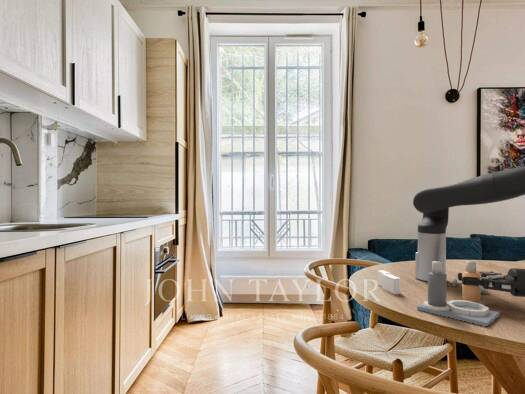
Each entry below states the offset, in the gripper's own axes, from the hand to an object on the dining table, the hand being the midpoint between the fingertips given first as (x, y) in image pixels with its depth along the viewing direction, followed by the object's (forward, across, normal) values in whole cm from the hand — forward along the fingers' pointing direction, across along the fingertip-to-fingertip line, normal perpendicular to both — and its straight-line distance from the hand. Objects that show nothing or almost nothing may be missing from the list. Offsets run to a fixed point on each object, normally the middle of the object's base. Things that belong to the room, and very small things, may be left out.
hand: (460, 278), depth 96 cm
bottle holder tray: (+3, +10, +7) cm, 12 cm away
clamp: (-6, -17, +8) cm, 20 cm away
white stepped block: (+19, -10, +8) cm, 22 cm away
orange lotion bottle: (-3, 0, +7) cm, 8 cm away
